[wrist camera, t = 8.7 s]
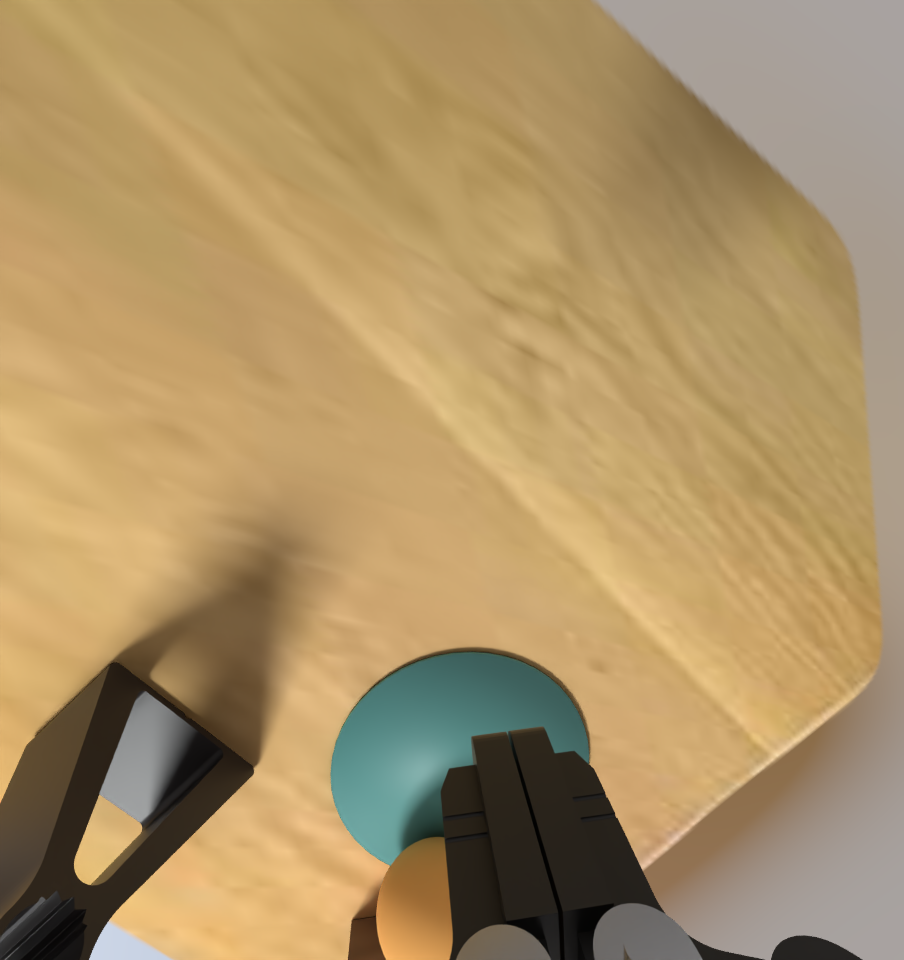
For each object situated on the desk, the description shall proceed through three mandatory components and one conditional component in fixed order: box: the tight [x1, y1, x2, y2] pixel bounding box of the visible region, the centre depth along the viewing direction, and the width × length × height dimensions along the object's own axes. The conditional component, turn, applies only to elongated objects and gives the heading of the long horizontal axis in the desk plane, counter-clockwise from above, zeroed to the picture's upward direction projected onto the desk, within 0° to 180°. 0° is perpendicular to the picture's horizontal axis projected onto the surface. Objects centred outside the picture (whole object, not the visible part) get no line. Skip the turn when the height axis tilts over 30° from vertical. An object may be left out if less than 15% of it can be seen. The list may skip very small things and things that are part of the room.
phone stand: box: [0, 663, 254, 960], centre depth 20 cm, size 9×6×12 cm, turn 43°
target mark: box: [331, 652, 589, 866], centre depth 27 cm, size 14×14×1 cm
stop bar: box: [348, 917, 386, 960], centre depth 28 cm, size 2×8×3 cm, turn 94°
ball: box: [376, 837, 453, 960], centre depth 26 cm, size 6×6×6 cm
